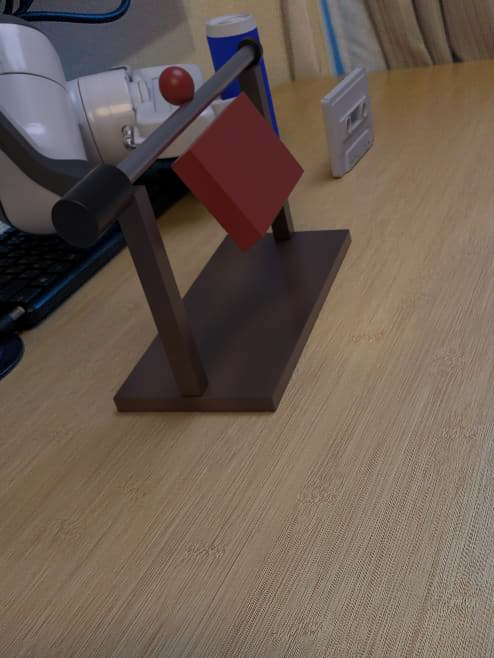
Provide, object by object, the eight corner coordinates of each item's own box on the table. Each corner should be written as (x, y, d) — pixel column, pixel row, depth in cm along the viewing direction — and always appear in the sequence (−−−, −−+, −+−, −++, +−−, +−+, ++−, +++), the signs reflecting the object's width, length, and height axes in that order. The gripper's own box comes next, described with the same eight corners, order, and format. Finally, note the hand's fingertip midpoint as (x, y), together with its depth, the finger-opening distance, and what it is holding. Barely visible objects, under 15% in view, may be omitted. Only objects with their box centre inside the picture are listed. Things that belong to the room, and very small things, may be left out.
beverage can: (267, 162, 94) (234, 10, 84) (295, 170, 91) (264, 14, 81) (231, 177, 92) (192, 23, 82) (259, 186, 89) (223, 27, 79)
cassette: (364, 138, 96) (354, 65, 91) (379, 138, 96) (369, 65, 91) (328, 178, 88) (315, 101, 83) (344, 178, 88) (332, 100, 82)
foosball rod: (176, 354, 48) (17, 193, 43) (308, 150, 72) (216, 28, 66) (205, 333, 47) (45, 164, 41) (330, 132, 70) (238, 6, 65)
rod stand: (117, 412, 60) (28, 202, 49) (229, 246, 78) (182, 69, 68) (275, 411, 57) (217, 192, 47) (351, 241, 76) (322, 57, 66)
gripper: (111, 115, 75) (259, 85, 77) (112, 63, 90) (237, 39, 91) (134, 184, 79) (274, 156, 81) (132, 124, 94) (250, 101, 96)
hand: (254, 93), depth 86 cm, fingers closed on beverage can, 5 cm apart
